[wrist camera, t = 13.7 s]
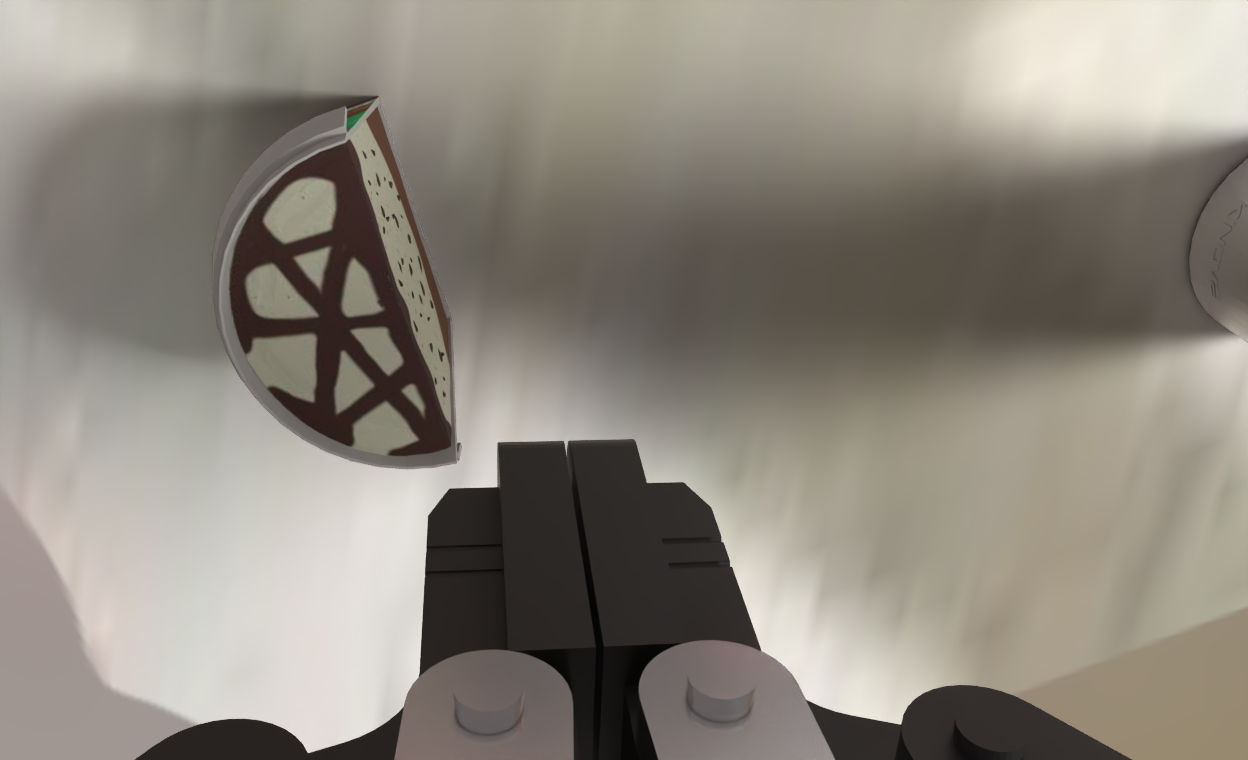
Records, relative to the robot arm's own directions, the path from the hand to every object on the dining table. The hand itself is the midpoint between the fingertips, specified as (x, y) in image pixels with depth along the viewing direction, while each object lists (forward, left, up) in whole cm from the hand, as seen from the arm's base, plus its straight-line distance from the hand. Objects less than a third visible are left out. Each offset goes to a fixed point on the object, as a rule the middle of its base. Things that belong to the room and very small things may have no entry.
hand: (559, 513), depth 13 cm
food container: (+6, +8, -33) cm, 35 cm away
